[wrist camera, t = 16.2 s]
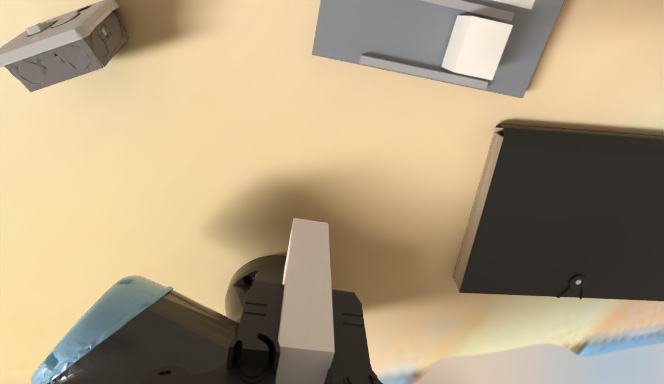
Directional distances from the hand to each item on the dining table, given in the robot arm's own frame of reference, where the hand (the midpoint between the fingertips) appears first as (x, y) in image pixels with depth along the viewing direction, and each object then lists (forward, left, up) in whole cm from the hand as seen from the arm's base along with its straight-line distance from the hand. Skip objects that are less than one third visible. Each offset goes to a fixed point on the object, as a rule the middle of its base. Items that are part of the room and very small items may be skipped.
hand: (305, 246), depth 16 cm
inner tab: (+9, -15, -27) cm, 32 cm away
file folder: (-9, -40, -30) cm, 51 cm away
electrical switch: (+2, +24, -30) cm, 38 cm away
